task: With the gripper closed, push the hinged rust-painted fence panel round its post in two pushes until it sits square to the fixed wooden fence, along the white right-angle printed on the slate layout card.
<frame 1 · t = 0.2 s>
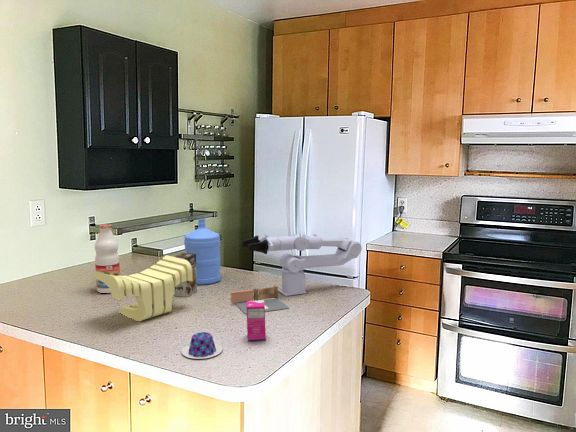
hand: (245, 245, 187), 21 cm above the counter, tool horizontal, fingers open, 7 cm apart
pudding: (202, 352, 141), on the counter
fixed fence: (255, 301, 187), resting on layout card
layout card: (258, 303, 183), on the counter
coffee box: (186, 293, 197), on the counter
fruit juice: (108, 291, 200), on the counter
water jug: (203, 280, 216), on the counter
swing panel: (242, 296, 184), point 3 cm above the counter, hinge at 0.0°
slatted curved stool: (146, 313, 173), on the counter
supplement box: (256, 338, 151), on the counter
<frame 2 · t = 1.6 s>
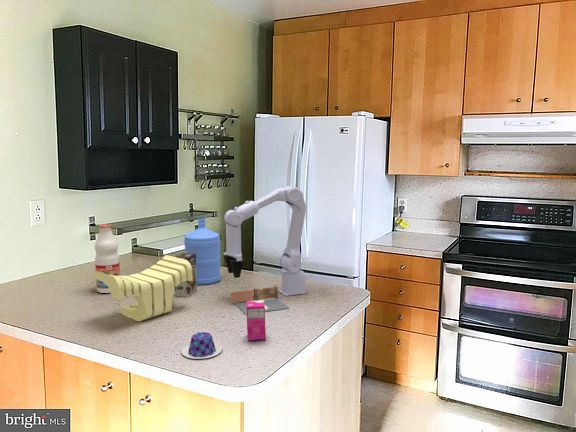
hand: (234, 275, 187), 10 cm above the counter, tool pointing down, fingers open, 7 cm apart
nothing on the counter moved.
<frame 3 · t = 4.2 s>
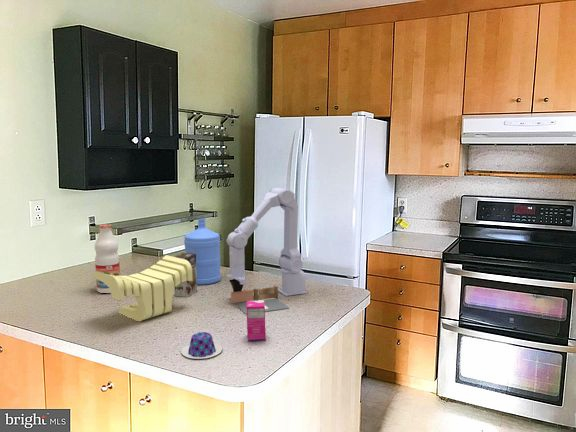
hand: (237, 297, 185), 2 cm above the counter, tool pointing down, fingers closed, pressing on swing panel
swing panel: (242, 296, 184), point 3 cm above the counter, hinge at 0.4°, touching gripper
everything else where it was.
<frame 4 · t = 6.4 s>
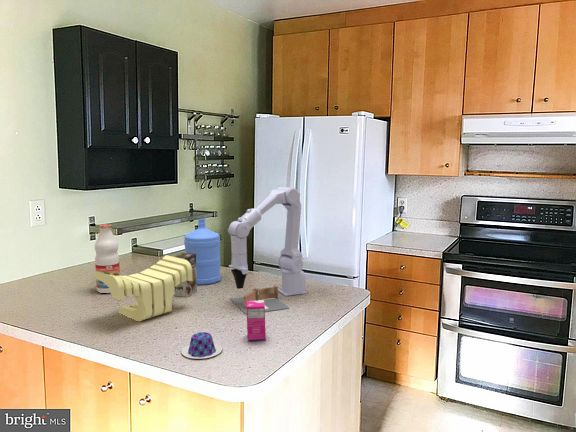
hand: (239, 288, 182), 7 cm above the counter, tool pointing down, fingers closed
swing panel: (249, 298, 181), point 3 cm above the counter, hinge at 45.9°
everything else where it was.
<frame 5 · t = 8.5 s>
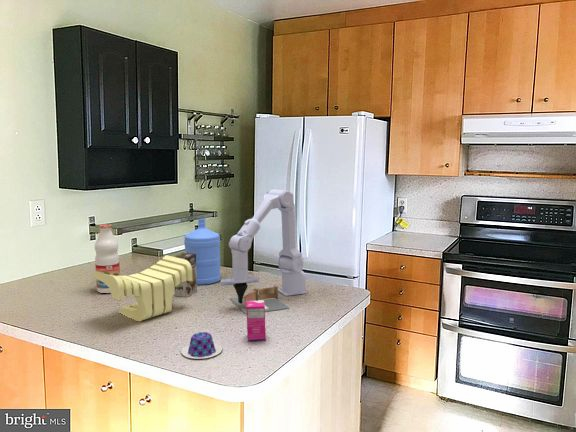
hand: (240, 302, 179), 2 cm above the counter, tool pointing down, fingers closed, pressing on swing panel
swing panel: (249, 298, 181), point 3 cm above the counter, hinge at 46.7°, touching gripper
everything else where it was.
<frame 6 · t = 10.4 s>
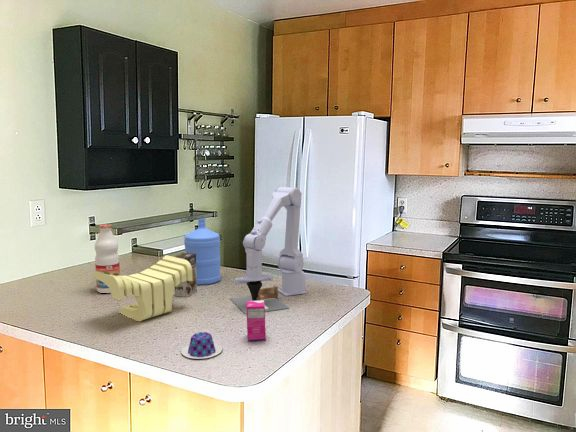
hand: (254, 300, 181), 2 cm above the counter, tool pointing down, fingers closed
swing panel: (259, 298, 181), point 3 cm above the counter, hinge at 84.9°, touching gripper
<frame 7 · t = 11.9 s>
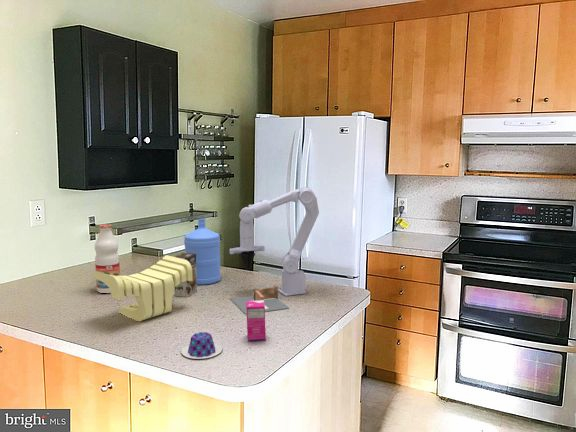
hand: (247, 269, 196), 10 cm above the counter, tool pointing down, fingers closed
swing panel: (259, 298, 181), point 3 cm above the counter, hinge at 85.0°
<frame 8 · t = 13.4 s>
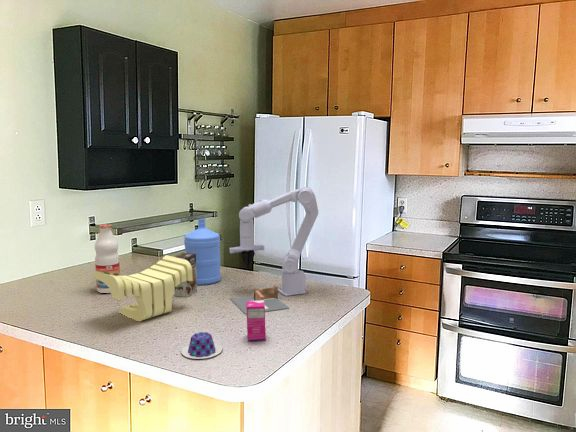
hand: (247, 268, 197), 10 cm above the counter, tool pointing down, fingers closed
at the end: swing panel at +85° (first picture: +0°) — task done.
